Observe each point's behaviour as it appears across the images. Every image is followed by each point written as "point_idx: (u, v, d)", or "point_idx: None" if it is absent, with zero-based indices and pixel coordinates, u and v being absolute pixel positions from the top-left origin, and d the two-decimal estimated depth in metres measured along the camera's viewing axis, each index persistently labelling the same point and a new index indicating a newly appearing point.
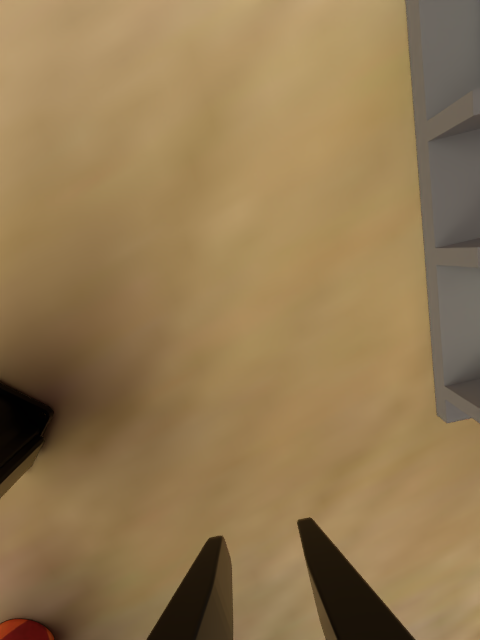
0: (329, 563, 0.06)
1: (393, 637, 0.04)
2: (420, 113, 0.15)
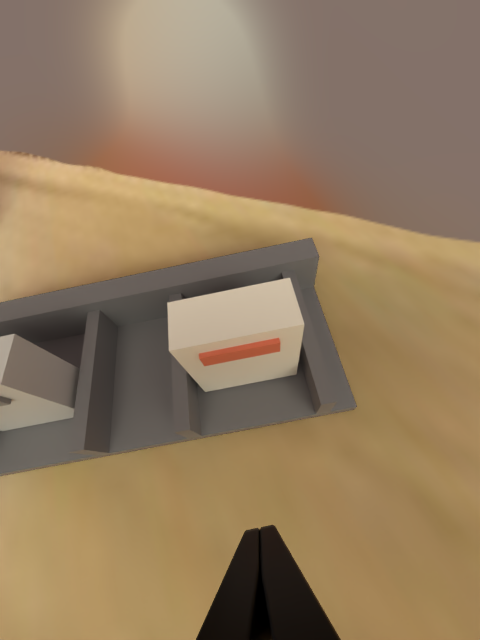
0: (282, 573, 0.06)
1: None
2: (91, 457, 0.21)
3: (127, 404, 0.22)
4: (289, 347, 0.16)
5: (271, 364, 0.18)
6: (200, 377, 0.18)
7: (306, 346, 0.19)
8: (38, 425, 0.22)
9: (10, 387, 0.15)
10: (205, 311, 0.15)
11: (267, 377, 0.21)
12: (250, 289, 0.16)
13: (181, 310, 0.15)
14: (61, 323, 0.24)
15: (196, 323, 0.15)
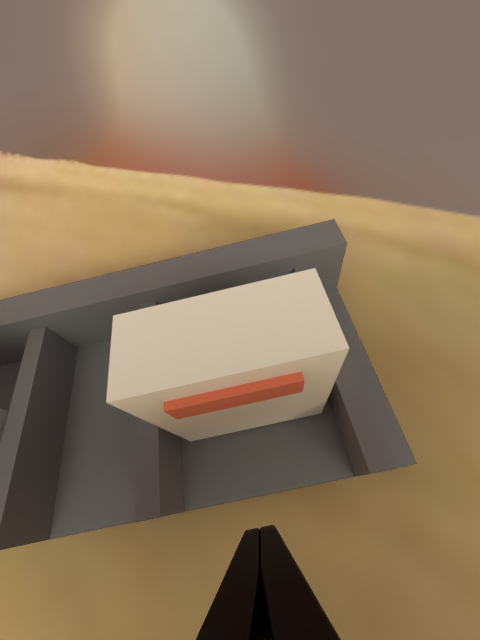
0: (282, 573, 0.06)
1: None
2: None
3: (81, 460, 0.15)
4: (316, 382, 0.10)
5: (286, 405, 0.12)
6: (177, 428, 0.12)
7: (338, 374, 0.13)
8: None
9: None
10: (174, 328, 0.09)
11: (279, 419, 0.14)
12: (249, 289, 0.09)
13: (134, 328, 0.09)
14: None
15: (157, 350, 0.09)
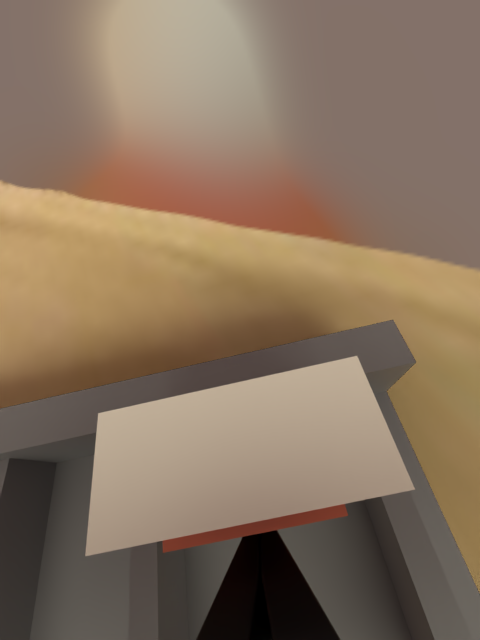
0: (282, 573, 0.06)
1: None
2: None
3: None
4: None
5: None
6: None
7: (422, 590, 0.09)
8: None
9: None
10: (175, 439, 0.07)
11: None
12: (273, 385, 0.07)
13: (125, 435, 0.07)
14: None
15: (154, 472, 0.07)
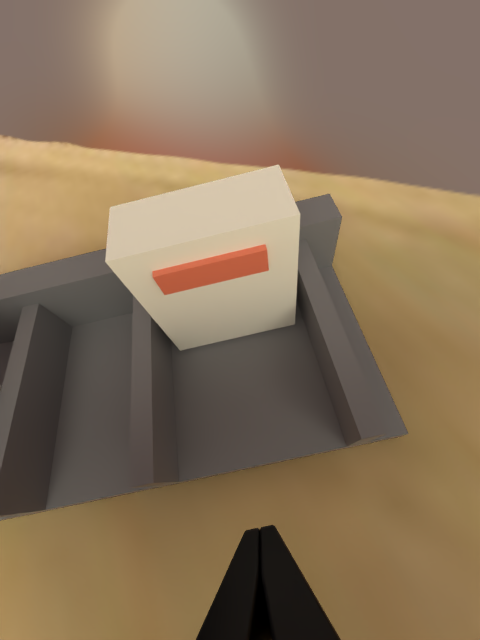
0: (282, 573, 0.06)
1: None
2: (22, 515, 0.14)
3: (76, 435, 0.15)
4: (281, 266, 0.12)
5: (260, 302, 0.14)
6: (167, 322, 0.14)
7: (331, 345, 0.13)
8: None
9: None
10: (160, 212, 0.11)
11: (258, 328, 0.16)
12: (224, 182, 0.11)
13: (128, 214, 0.11)
14: None
15: (146, 226, 0.10)
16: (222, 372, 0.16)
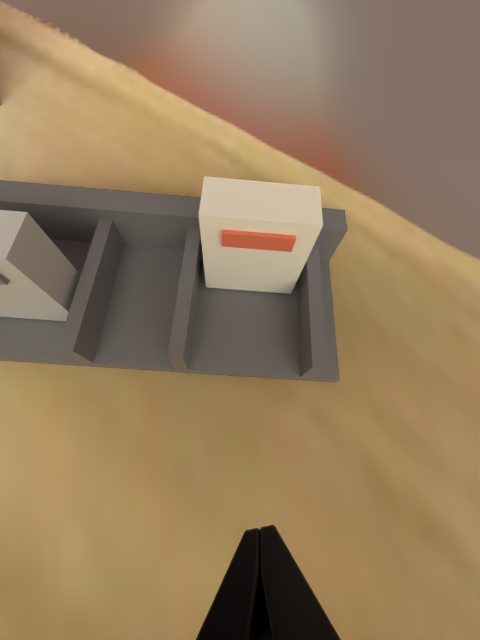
0: (282, 573, 0.06)
1: None
2: (73, 363, 0.20)
3: (120, 323, 0.21)
4: (299, 252, 0.18)
5: (275, 270, 0.20)
6: (210, 264, 0.20)
7: (312, 311, 0.19)
8: (23, 319, 0.21)
9: (14, 266, 0.14)
10: (238, 192, 0.16)
11: (265, 288, 0.23)
12: (282, 186, 0.17)
13: (216, 186, 0.16)
14: (67, 223, 0.22)
15: (227, 199, 0.16)
16: (232, 310, 0.22)
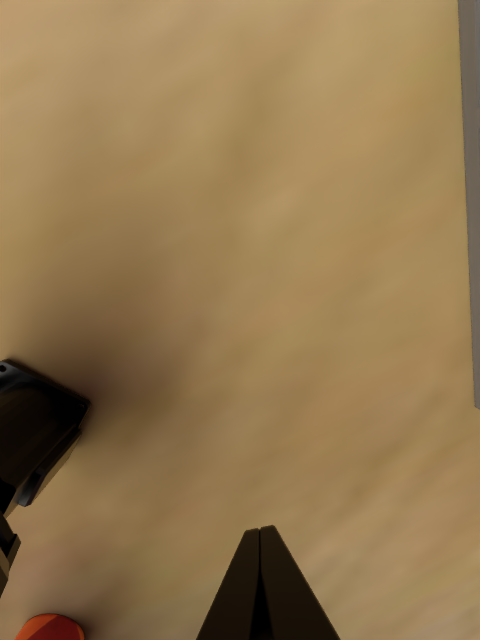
0: (282, 573, 0.06)
1: None
2: (470, 100, 0.15)
3: None
4: None
5: None
6: None
7: None
8: None
9: None
10: None
11: None
12: None
13: None
14: None
15: None
16: None
